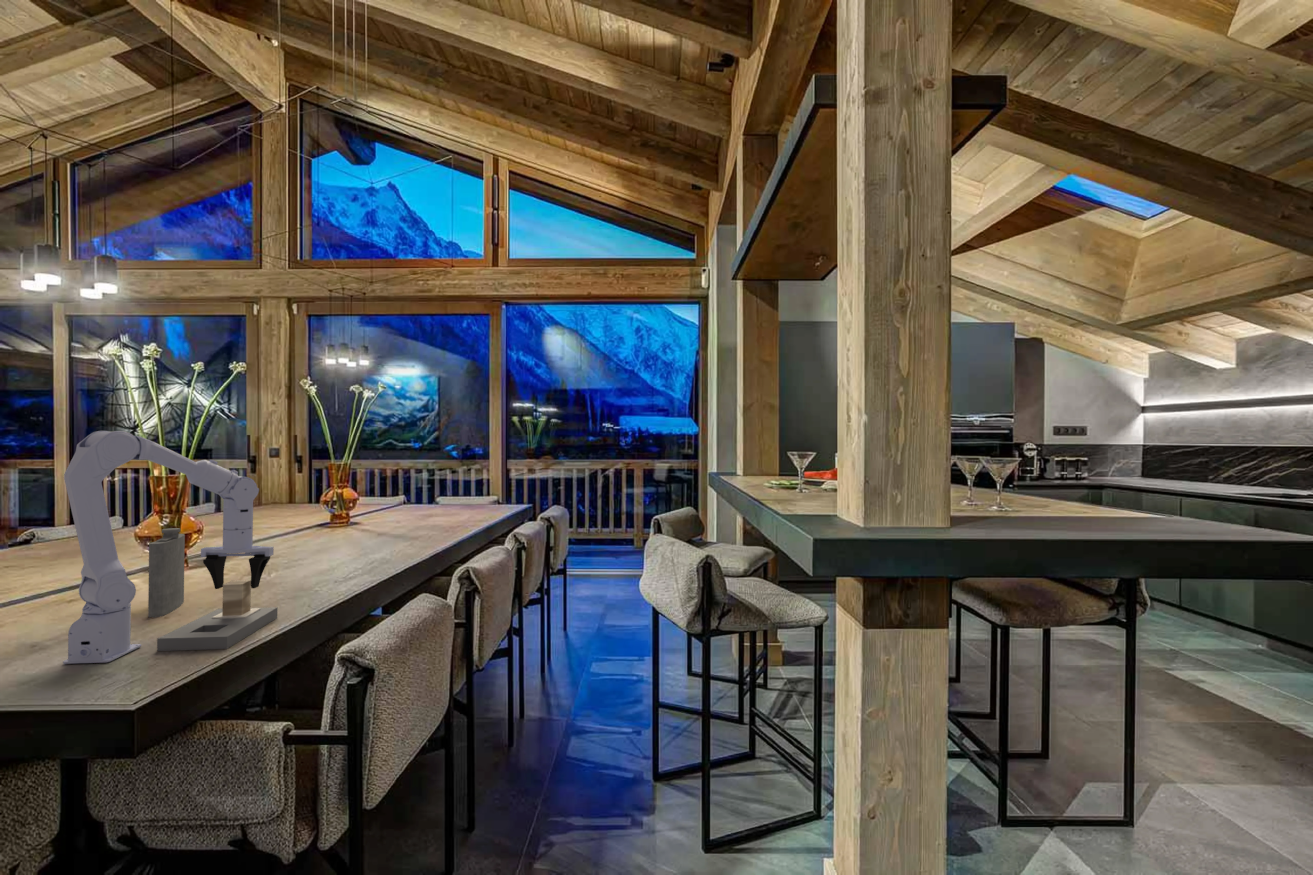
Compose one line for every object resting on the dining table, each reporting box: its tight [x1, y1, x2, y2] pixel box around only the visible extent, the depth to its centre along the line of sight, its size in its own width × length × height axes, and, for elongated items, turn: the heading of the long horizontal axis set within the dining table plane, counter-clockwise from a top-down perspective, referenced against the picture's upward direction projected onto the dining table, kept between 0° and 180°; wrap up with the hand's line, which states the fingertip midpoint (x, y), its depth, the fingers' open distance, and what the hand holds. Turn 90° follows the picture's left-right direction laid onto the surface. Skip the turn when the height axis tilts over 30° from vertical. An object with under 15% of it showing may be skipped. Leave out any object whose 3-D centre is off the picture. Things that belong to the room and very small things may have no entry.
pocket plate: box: [156, 606, 278, 652], centre depth 137 cm, size 22×13×3 cm, turn 8°
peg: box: [222, 579, 252, 616], centre depth 143 cm, size 4×4×7 cm
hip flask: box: [147, 527, 186, 618], centre depth 156 cm, size 16×4×20 cm, turn 21°
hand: (237, 587), depth 143 cm, fingers open, 7 cm apart
